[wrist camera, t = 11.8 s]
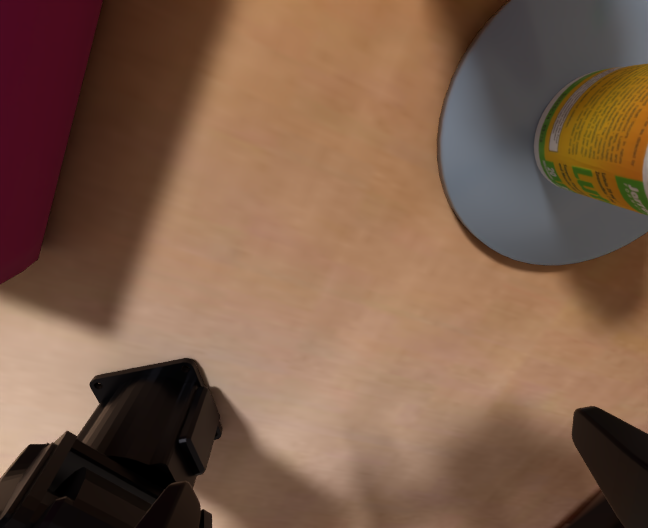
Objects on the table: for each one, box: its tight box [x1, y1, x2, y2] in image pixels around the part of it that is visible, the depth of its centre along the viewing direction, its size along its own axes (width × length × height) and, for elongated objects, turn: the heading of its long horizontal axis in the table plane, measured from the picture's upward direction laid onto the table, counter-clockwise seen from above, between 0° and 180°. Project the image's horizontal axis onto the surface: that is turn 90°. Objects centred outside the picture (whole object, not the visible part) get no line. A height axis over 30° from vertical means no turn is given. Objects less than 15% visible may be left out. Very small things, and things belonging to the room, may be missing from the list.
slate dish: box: [437, 0, 648, 265], centre depth 18 cm, size 14×14×1 cm
